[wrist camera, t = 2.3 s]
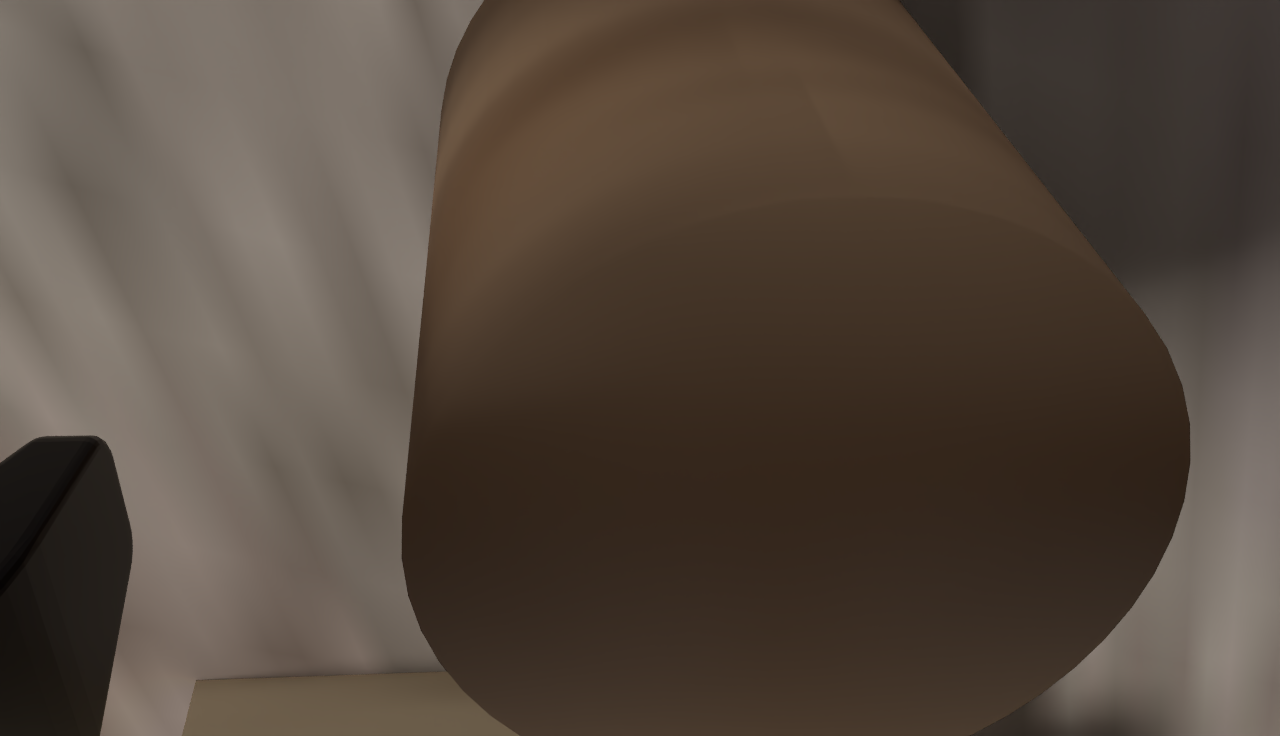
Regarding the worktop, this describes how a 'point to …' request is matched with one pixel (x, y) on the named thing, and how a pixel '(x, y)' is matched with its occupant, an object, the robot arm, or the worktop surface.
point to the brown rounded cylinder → (765, 384)
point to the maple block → (338, 707)
